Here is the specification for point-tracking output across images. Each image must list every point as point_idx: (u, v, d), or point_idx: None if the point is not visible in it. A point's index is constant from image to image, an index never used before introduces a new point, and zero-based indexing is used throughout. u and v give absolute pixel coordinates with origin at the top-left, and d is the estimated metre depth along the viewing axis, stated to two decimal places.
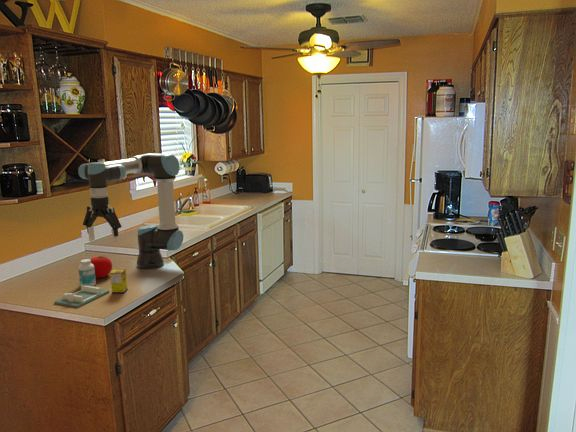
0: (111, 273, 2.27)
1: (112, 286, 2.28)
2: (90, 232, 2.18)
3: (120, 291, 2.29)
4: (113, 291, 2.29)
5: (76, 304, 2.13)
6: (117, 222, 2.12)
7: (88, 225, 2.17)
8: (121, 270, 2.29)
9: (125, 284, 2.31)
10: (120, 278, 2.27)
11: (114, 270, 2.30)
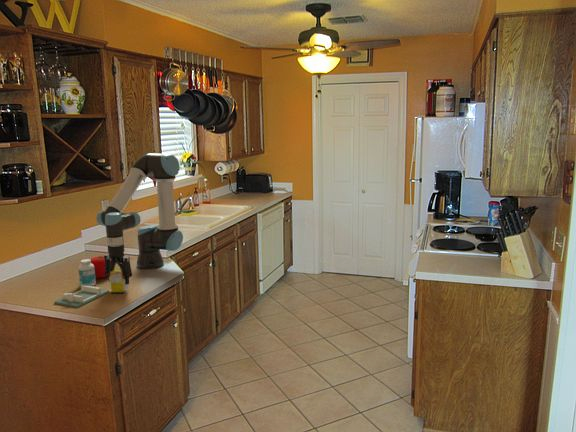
0: (111, 273, 2.27)
1: (112, 286, 2.28)
2: None
3: (120, 291, 2.29)
4: (113, 291, 2.29)
5: (76, 304, 2.13)
6: (129, 271, 2.27)
7: (109, 274, 2.30)
8: None
9: None
10: (120, 277, 2.27)
11: (113, 270, 2.30)
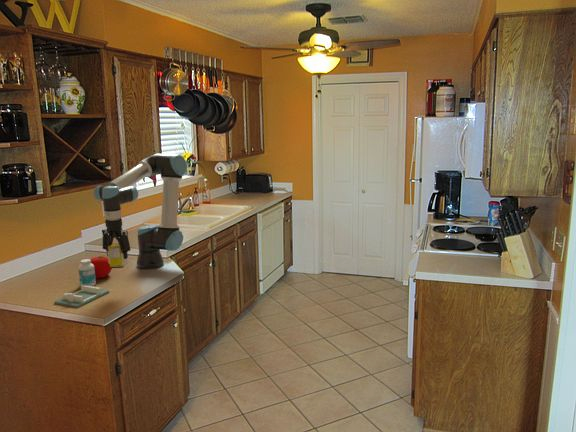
0: (109, 247, 2.24)
1: (110, 261, 2.26)
2: None
3: (118, 266, 2.26)
4: (111, 266, 2.26)
5: (76, 304, 2.13)
6: (127, 246, 2.24)
7: (107, 248, 2.28)
8: None
9: None
10: (118, 252, 2.25)
11: (112, 244, 2.28)
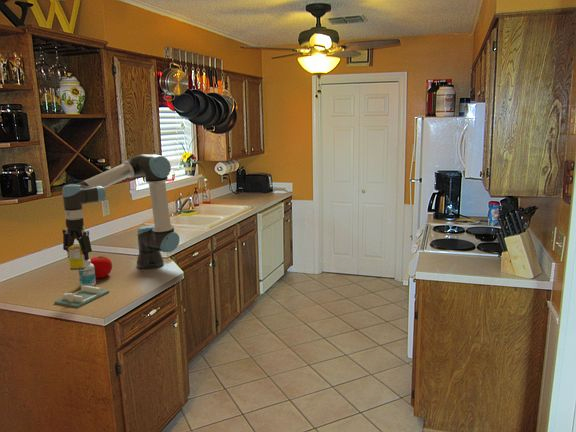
0: (69, 248, 2.15)
1: (70, 262, 2.17)
2: None
3: (79, 267, 2.17)
4: (71, 267, 2.17)
5: (76, 304, 2.13)
6: (88, 246, 2.16)
7: None
8: None
9: None
10: (78, 253, 2.16)
11: (72, 245, 2.19)
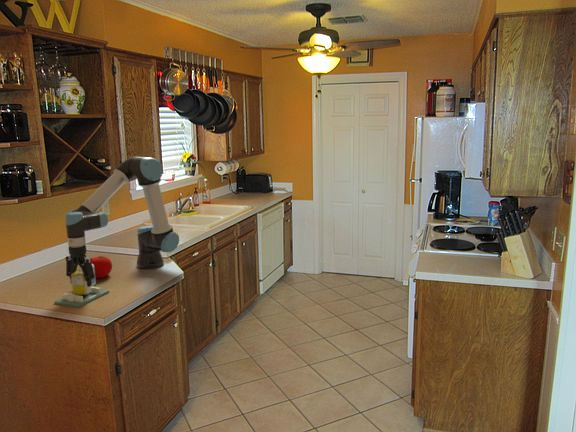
0: (72, 275, 2.18)
1: (73, 288, 2.20)
2: None
3: (82, 293, 2.20)
4: (74, 293, 2.20)
5: (76, 304, 2.13)
6: (91, 273, 2.18)
7: None
8: None
9: None
10: (81, 279, 2.19)
11: (75, 271, 2.22)
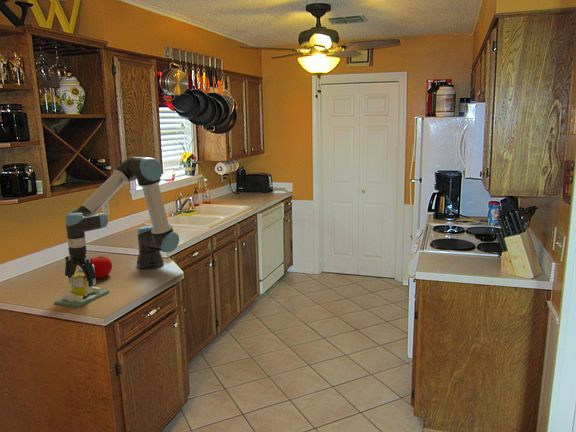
0: (72, 277, 2.19)
1: (74, 290, 2.20)
2: None
3: (82, 295, 2.21)
4: None
5: (76, 304, 2.13)
6: (92, 273, 2.18)
7: (70, 275, 2.22)
8: (83, 274, 2.21)
9: None
10: (81, 282, 2.19)
11: (76, 273, 2.22)
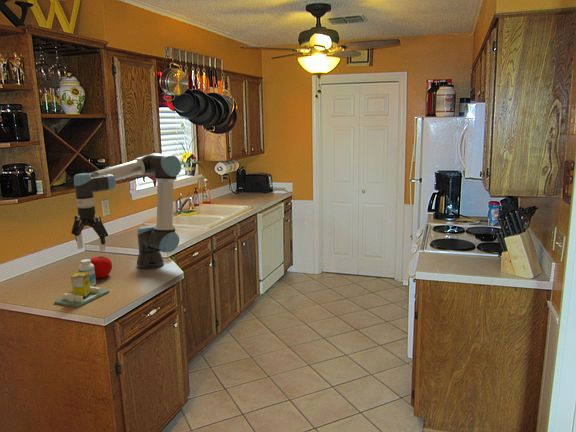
0: (72, 277, 2.19)
1: (74, 290, 2.20)
2: (78, 240, 2.26)
3: (82, 295, 2.21)
4: None
5: (76, 304, 2.13)
6: (104, 231, 2.20)
7: (76, 234, 2.25)
8: (83, 274, 2.21)
9: (88, 288, 2.23)
10: (81, 282, 2.19)
11: (76, 273, 2.22)
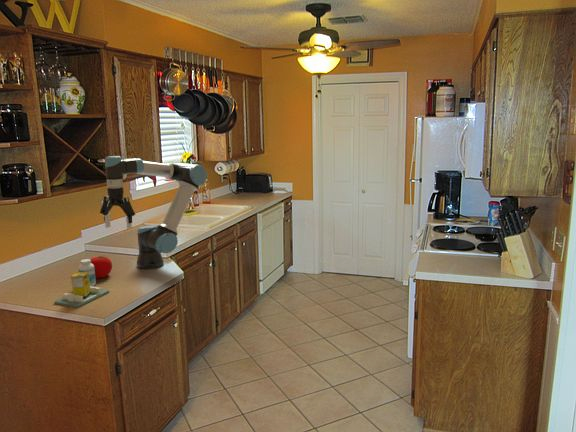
0: (72, 277, 2.19)
1: (74, 290, 2.20)
2: (106, 220, 2.40)
3: (82, 295, 2.21)
4: None
5: (76, 304, 2.13)
6: (131, 210, 2.34)
7: (105, 213, 2.39)
8: (83, 274, 2.21)
9: (88, 288, 2.23)
10: (81, 282, 2.19)
11: (76, 273, 2.22)
